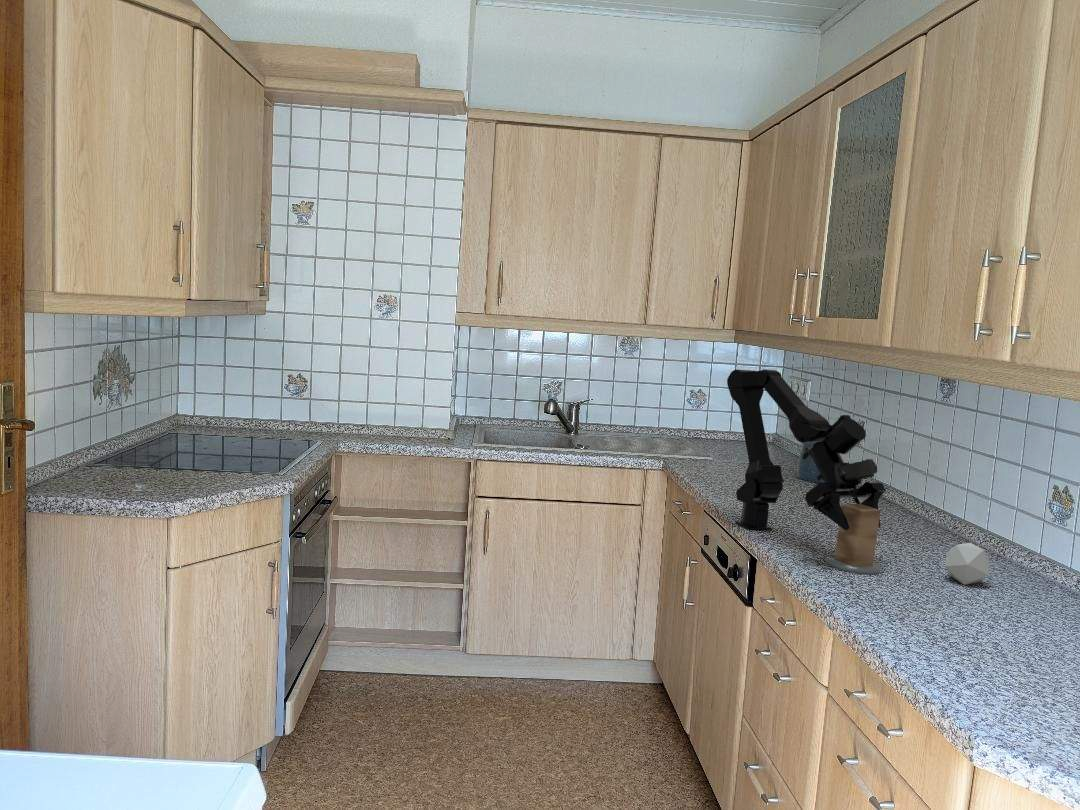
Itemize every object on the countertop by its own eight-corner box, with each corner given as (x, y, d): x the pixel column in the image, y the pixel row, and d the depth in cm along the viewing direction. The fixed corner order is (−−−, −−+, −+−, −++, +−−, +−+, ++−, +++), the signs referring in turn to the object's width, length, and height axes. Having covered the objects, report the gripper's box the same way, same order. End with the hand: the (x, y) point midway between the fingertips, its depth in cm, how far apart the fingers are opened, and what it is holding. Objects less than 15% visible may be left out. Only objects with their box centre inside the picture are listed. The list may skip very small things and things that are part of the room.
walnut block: (834, 559, 186) (841, 504, 185) (852, 557, 189) (860, 503, 188) (854, 567, 182) (862, 511, 180) (872, 565, 184) (880, 510, 183)
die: (958, 576, 188) (937, 539, 186) (1000, 566, 183) (978, 528, 181) (955, 598, 181) (934, 560, 180) (998, 588, 176) (976, 550, 175)
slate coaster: (815, 558, 189) (815, 555, 189) (856, 557, 192) (857, 554, 192) (848, 575, 178) (849, 571, 178) (892, 574, 182) (892, 570, 182)
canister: (840, 486, 278) (848, 431, 276) (798, 481, 280) (805, 426, 278) (834, 478, 291) (841, 426, 289) (794, 473, 293) (801, 422, 291)
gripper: (822, 445, 182) (856, 510, 173) (884, 445, 190) (920, 507, 182) (790, 474, 189) (821, 537, 181) (852, 473, 198) (884, 533, 190)
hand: (863, 528), depth 183 cm, fingers open, 9 cm apart
